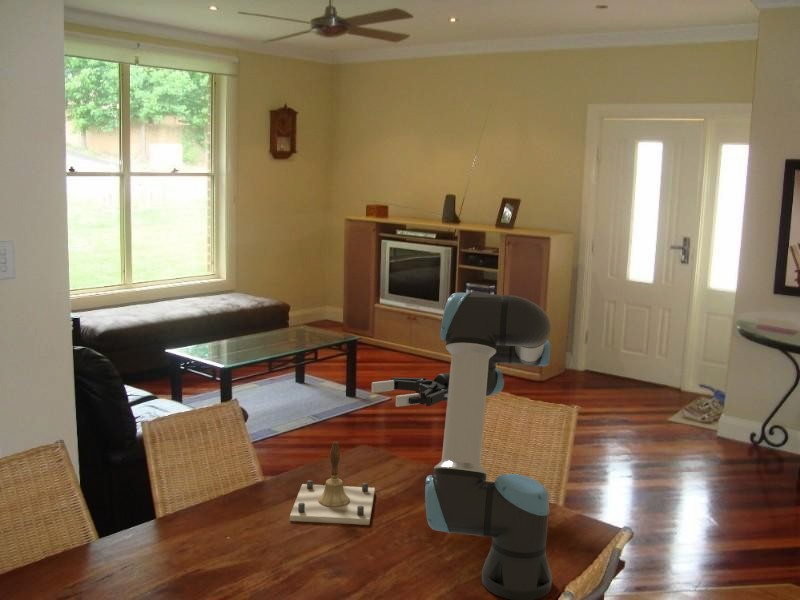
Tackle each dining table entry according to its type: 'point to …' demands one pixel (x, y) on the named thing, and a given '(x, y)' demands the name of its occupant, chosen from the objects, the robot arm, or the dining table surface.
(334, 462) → the hand bell
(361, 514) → the board
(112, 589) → the dining table surface
